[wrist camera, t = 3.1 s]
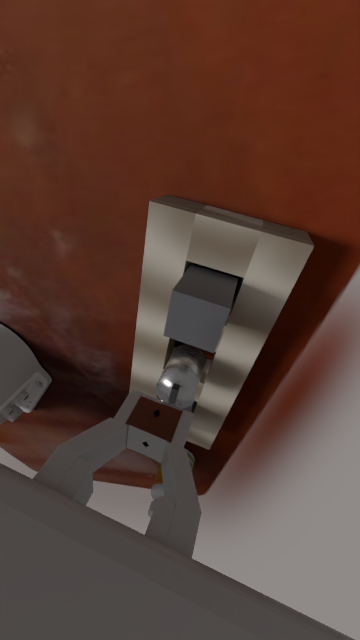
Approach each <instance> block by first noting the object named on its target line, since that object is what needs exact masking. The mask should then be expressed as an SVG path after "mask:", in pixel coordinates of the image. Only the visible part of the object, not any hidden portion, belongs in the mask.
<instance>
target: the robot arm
mask: <svg viewBox="0 0 360 640" xmlns="http://www.w3.org/2000/svg"><path fill="white" fill-rule="evenodd" d="M51 382H52V379H51V377H50V376H49V374H48V373H47V372H46V371H45V370H44V369H43V368H42V367H41V366H40V364H39V362H38V361H37V359H36V357H35V355H34V354H33V352H32V351H31V350H30V348H29V347H28V346H27V345H26V344H25V343H24V342H23V340H21V339H20V338H19V337H18V336H17V335H16V334H15V333H13V332H12V331H11V330H9V329H8V328H6V327H5V326H3V325H2V324H0V424H2V423H3V422H4V421H5V420H6V419H8V420H10V421H11V422H14V421H15V420H16V419H17V418H18V417H19V416H20V415H21V413H22V412H28V413H29V412H31V411H32V410H33V409H34V408H35V406H36V405H37V403H38V402H39V400H40V399H41V397H42V396H43V394H44V393H45V391H46V389H47V388H48V386H49V385H50V383H51ZM193 417H194V413H192V412H189V411H186V410H183V409H182V408H180V407H177V406H174V405H172V404H169V403H167V402H164V401H161V400H159V399H156V398H154V397H151V396H149V395H147V394H144V393H142V392H140V391H137V390H135V389H132V390H131V391H130V393H129V394H128V396H127V398H126V399H125V401H124V402H123V404H122V406H121V407H120V409H119V410H118V412H117V414H116V415H115V417H114V418H111V417H110V418H108V419H107V420H105V421H103V422H101V423H99V424H97V425H95V426H94V427H92V428H90V429H88V430H86V431H84V432H82V433H81V434H79V435H77V436H75V437H73V438H71V439H70V440H68V441H66V442H64V443H62V444H60V445H58V447H57V448H56V449H55V451H54V452H53V453H52V455H51V456H50V457H49V458H48V460H47V461H46V462H45V464H44V465H43V466H42V468H41V469H40V470H39V472H38V473H37V474H36V476H35V477H34V478H33V479H31V478H29V477H27V476H25V475H23V474H21V473H19V472H17V471H15V470H13V469H11V468H9V467H7V466H5V465H3V464H1V463H0V640H354V639H352V638H350V637H348V636H346V635H344V634H342V633H340V632H338V631H336V630H334V629H332V628H330V627H328V626H326V625H324V624H322V623H320V622H318V621H316V620H314V619H312V618H310V617H308V616H306V615H304V614H302V613H300V612H298V611H296V610H294V609H292V608H290V607H288V606H286V605H284V604H282V603H280V602H278V601H276V600H274V599H272V598H270V597H268V596H266V595H264V594H262V593H260V592H258V591H256V590H254V589H252V588H250V587H248V586H246V585H244V584H242V583H240V582H238V581H236V580H234V579H232V578H230V577H228V576H226V575H223V574H221V573H220V572H218V571H216V570H214V569H212V568H210V567H208V566H206V565H204V564H202V563H200V562H198V561H195V560H193V559H192V554H193V550H194V545H195V540H196V535H197V530H198V526H199V521H200V516H201V509H200V505H199V501H198V496H197V492H196V488H195V484H194V479H193V475H192V471H191V467H190V462H189V458H188V454H187V450H185V449H184V445H185V442H186V439H187V436H188V433H189V430H190V427H191V424H192V420H193ZM126 447H127V448H129V449H131V450H134V451H136V452H139V453H141V454H144V455H146V456H148V457H150V458H152V459H154V460H156V461H158V462H160V463H161V471H162V480H163V488H164V496H161V497H159V498H158V500H157V503H156V506H155V508H154V511H153V514H152V517H151V520H150V522H149V525H148V528H147V530H146V533H145V535H143V534H141V533H139V532H137V531H135V530H133V529H131V528H129V527H127V526H125V525H123V524H121V523H119V522H117V521H115V520H113V519H111V518H109V517H107V516H105V515H103V514H101V513H99V512H97V511H95V510H93V509H91V508H89V507H87V506H86V504H87V502H88V500H89V498H90V496H91V494H92V493H93V479H92V473H93V472H94V471H96V470H97V469H98V468H100V467H101V466H102V465H104V464H105V463H106V462H108V461H109V460H111V459H112V458H113V457H115V456H116V455H117V454H119V453H120V452H121V451H123V450H124V449H125V448H126Z"/></svg>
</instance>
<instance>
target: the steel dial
mask: <svg viewBox="0 0 360 640" xmlns="http://www.w3.org/2000/svg"><path fill="white" fill-rule="evenodd" d="M205 364H206V357H205V355H204V353H203V352H202V351H201V350H200V349H199V348H197V347H194V346H191V345H189V344H182V345H179V346H177V347H176V348H175V349H174V351H173V353H172V355H171V357H170V359H169V361H168V363H167V365H166V367H165V369H164V371H163V373H162V375H161V377H160V379H159V381H158V383H157V385H156V393H157V395H158V397H159V398H160V399H161V400H162V401H164V402H167V403H169V404H172V405H174V406H177V407H180V408H186V407H189V406H191V405H192V404H193V402H194V399H195V396H196V393H197V389H198V386H199V383H200V380H201V377H202V373H203V370H204V367H205Z"/></svg>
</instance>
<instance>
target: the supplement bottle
mask: <svg viewBox="0 0 360 640" xmlns="http://www.w3.org/2000/svg"><path fill="white" fill-rule="evenodd" d="M184 449H185V448H184ZM185 450H187V449H185ZM187 454H188V458H189V462H190V467H191V471H192V469H193V465H194V461H195V459H194V456H193V454H192V453H191V452H190V451H189V450H187ZM151 496H152V498H153V499H154V501H152V502H151V505H150V508H149V511H148V515H149V516H150V517H152V514H153V511H154V508H155V506H156V503H157V500H158V498H159V497H161V496H164V488H163V480H162V471H161V463H160V466H159V469H158V471H157V474H156V477H155V480H154V483H153V485H152V489H151Z"/></svg>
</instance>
